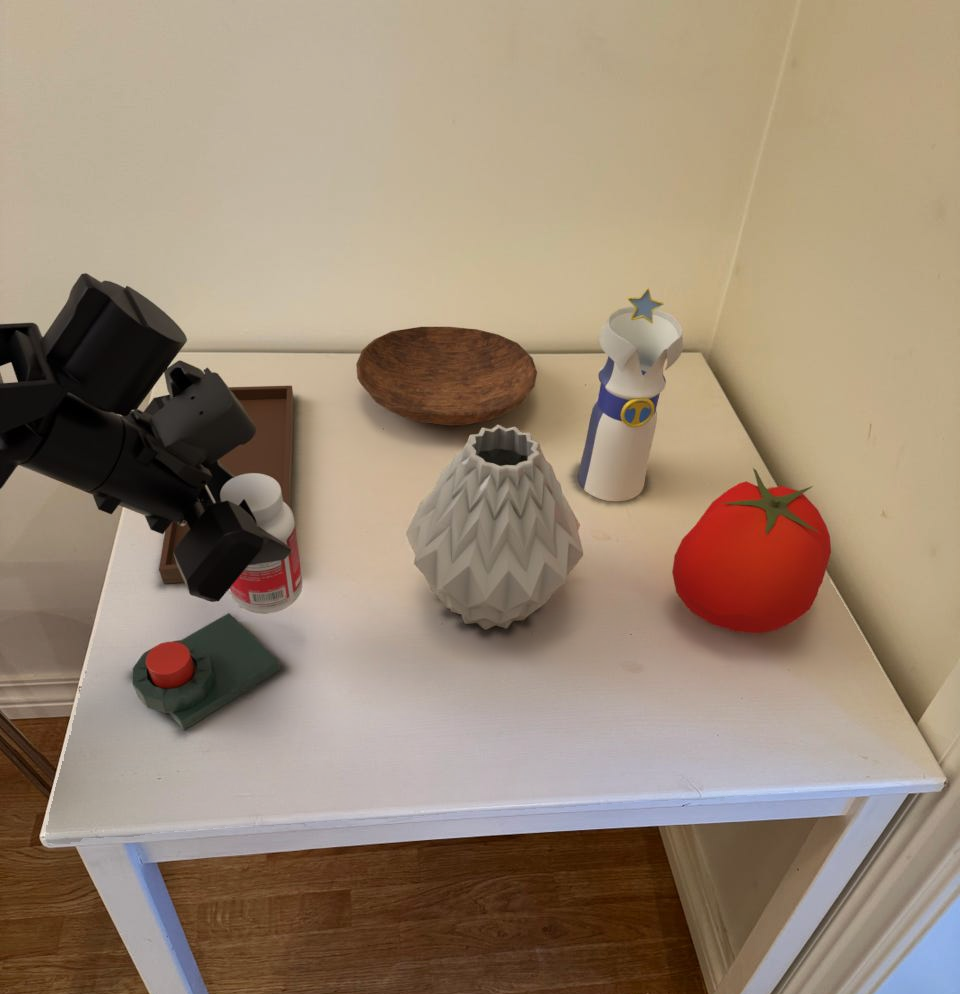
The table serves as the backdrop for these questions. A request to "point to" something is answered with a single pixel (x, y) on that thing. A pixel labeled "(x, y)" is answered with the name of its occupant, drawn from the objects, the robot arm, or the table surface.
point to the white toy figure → (628, 398)
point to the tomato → (753, 559)
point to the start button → (170, 665)
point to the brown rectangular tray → (250, 456)
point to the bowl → (446, 374)
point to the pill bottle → (279, 579)
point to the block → (209, 672)
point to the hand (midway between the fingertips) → (273, 529)
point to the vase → (496, 530)
